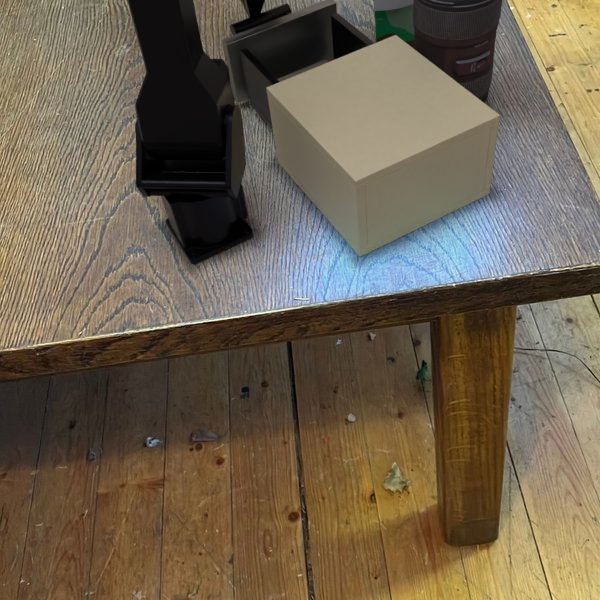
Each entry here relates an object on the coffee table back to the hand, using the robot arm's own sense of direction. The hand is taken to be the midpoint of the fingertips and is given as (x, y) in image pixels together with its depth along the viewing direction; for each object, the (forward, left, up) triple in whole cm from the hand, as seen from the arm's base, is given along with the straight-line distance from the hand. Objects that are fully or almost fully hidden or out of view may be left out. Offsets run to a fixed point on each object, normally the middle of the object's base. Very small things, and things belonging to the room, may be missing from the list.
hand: (254, 17), depth 82 cm
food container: (+15, -9, -6) cm, 18 cm away
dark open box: (0, -11, -4) cm, 12 cm away
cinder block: (0, -13, -3) cm, 13 cm away
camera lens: (+12, -21, -6) cm, 25 cm away
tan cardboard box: (0, -26, -5) cm, 26 cm away
